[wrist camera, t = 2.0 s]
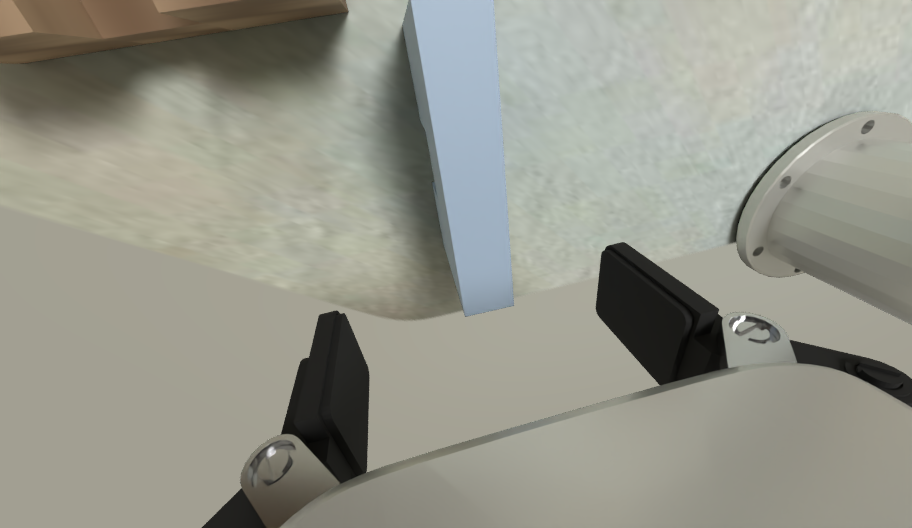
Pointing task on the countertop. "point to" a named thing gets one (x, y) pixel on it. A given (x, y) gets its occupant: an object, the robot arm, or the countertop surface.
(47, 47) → the walnut slot plate
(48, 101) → the countertop surface
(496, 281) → the blue slot plate
